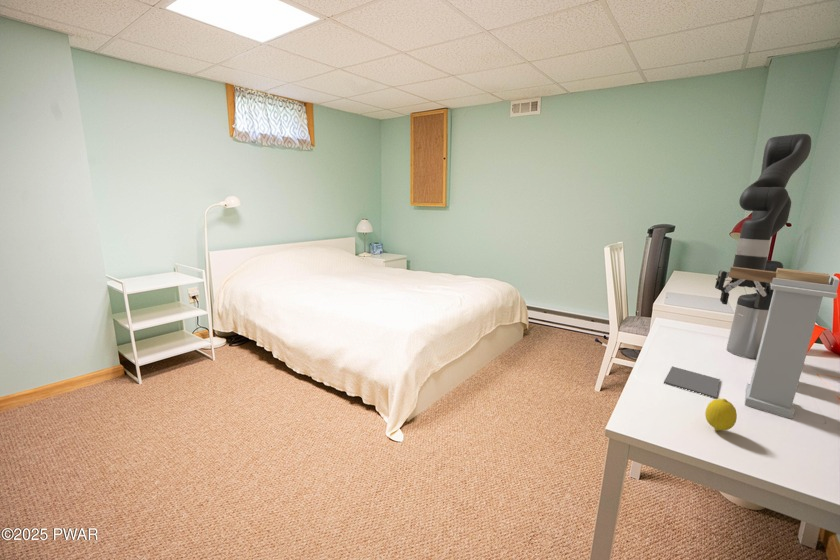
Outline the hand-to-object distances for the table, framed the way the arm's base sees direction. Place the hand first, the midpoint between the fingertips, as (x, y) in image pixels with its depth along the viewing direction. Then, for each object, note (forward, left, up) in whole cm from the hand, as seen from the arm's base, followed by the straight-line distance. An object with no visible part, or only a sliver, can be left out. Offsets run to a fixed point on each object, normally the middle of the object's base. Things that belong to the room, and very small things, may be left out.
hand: (740, 305), depth 119 cm
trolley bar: (+23, +5, +12) cm, 26 cm away
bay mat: (+23, -7, -20) cm, 31 cm away
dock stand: (+23, +10, -20) cm, 32 cm away
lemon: (+48, +1, -20) cm, 52 cm away
